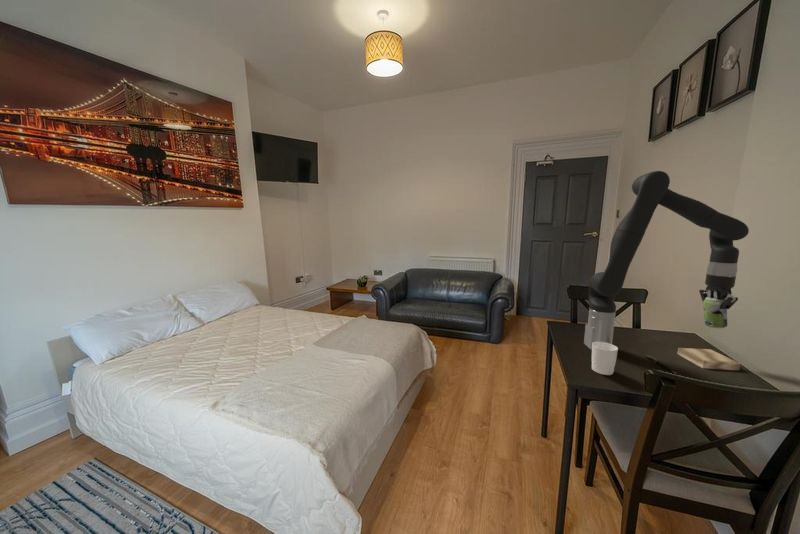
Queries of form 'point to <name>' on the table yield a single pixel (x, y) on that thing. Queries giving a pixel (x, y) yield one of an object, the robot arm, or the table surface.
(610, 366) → the white cup
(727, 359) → the base
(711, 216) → the robot arm
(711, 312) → the beverage can
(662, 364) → the fountain pen
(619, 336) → the table surface
